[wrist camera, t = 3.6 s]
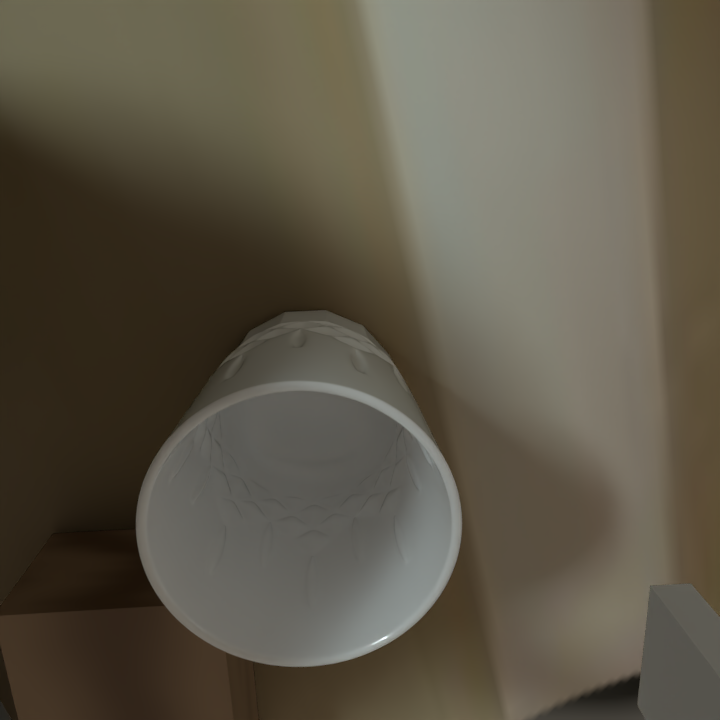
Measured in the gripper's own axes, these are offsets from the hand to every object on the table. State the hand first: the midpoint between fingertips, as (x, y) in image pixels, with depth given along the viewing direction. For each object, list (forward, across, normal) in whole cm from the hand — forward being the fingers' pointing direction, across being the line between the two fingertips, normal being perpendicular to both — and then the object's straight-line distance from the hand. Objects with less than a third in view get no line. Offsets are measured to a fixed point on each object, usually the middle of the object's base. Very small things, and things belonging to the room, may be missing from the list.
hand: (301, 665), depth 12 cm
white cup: (+14, 0, 0) cm, 14 cm away
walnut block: (+14, -7, -11) cm, 19 cm away
